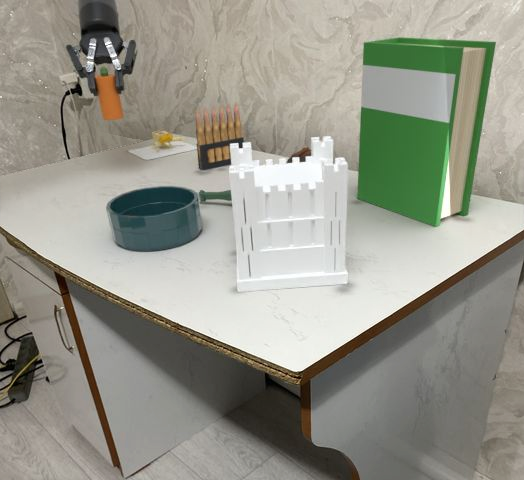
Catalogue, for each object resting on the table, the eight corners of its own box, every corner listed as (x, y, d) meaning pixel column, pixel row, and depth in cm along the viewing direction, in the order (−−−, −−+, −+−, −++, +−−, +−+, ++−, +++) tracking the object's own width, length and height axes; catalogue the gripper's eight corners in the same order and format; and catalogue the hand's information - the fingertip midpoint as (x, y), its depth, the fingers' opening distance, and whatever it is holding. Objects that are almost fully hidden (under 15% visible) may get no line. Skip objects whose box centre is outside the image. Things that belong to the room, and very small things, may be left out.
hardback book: (467, 214, 85) (496, 41, 72) (435, 226, 82) (458, 48, 68) (387, 189, 98) (398, 37, 84) (357, 198, 94) (363, 42, 81)
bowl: (110, 257, 80) (102, 222, 77) (117, 223, 92) (109, 191, 89) (205, 245, 81) (200, 210, 78) (199, 213, 93) (195, 182, 90)
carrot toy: (102, 120, 106) (91, 69, 101) (104, 117, 109) (93, 66, 104) (123, 118, 106) (112, 67, 101) (124, 115, 110) (114, 64, 104)
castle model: (237, 247, 80) (227, 143, 72) (331, 240, 80) (332, 135, 72) (237, 292, 69) (225, 174, 60) (347, 283, 69) (351, 164, 60)
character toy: (155, 137, 126) (142, 132, 131) (158, 151, 128) (144, 146, 133) (186, 131, 129) (171, 126, 135) (188, 145, 131) (173, 140, 137)
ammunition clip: (242, 159, 120) (237, 101, 113) (246, 161, 119) (241, 102, 112) (198, 168, 116) (191, 108, 109) (201, 170, 115) (194, 110, 108)
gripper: (56, 3, 102) (63, 82, 99) (131, -3, 103) (141, 75, 100) (67, 33, 109) (74, 108, 106) (137, 28, 111) (147, 101, 108)
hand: (107, 92), depth 103 cm, fingers closed on carrot toy, 4 cm apart
